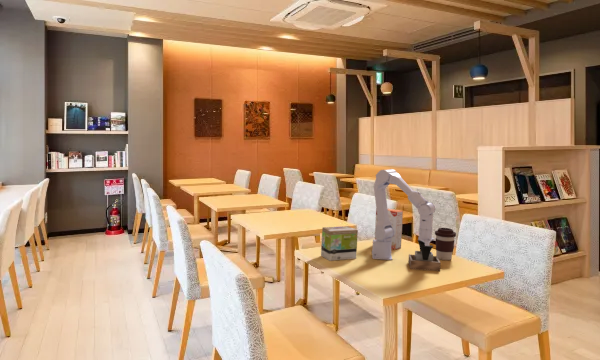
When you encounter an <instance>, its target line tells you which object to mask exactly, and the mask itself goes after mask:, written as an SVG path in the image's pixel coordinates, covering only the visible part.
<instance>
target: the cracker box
mask: <svg viewBox="0 0 600 360" xmlns="http://www.w3.org/2000/svg"><path fill="white" fill-rule="evenodd" d="M387 208H388V217H389V221H390V222H391V223H392V227H393V229H394V232H395V233H394V236H393V237H392V244H391V250H398V249H399V250H400V249H401V248H402V238H403V235H402V233H403V215H404V214H403V213H404V211H403V210H399V209H394V208H389V207H387ZM377 222H378V218H377V210H376V209H375V224H374V225H375V226H376V224H377ZM375 226H374V227H375ZM375 230H376V227H375V228H374V231H375ZM374 240H376V237H375V236H374Z"/></svg>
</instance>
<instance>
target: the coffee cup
mask: <svg viewBox="0 0 600 360" xmlns="http://www.w3.org/2000/svg"><path fill="white" fill-rule="evenodd" d="M434 235H435V251H436V253H435V254H436V255H435V256H437V258H438V259H439V260H441V261H451V260H452V257H453V252H454V247H455V237H456V236H457V233H456V232H455V231H454V230H453V228H449V227H438V229H437V230H435V231H434Z"/></svg>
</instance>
